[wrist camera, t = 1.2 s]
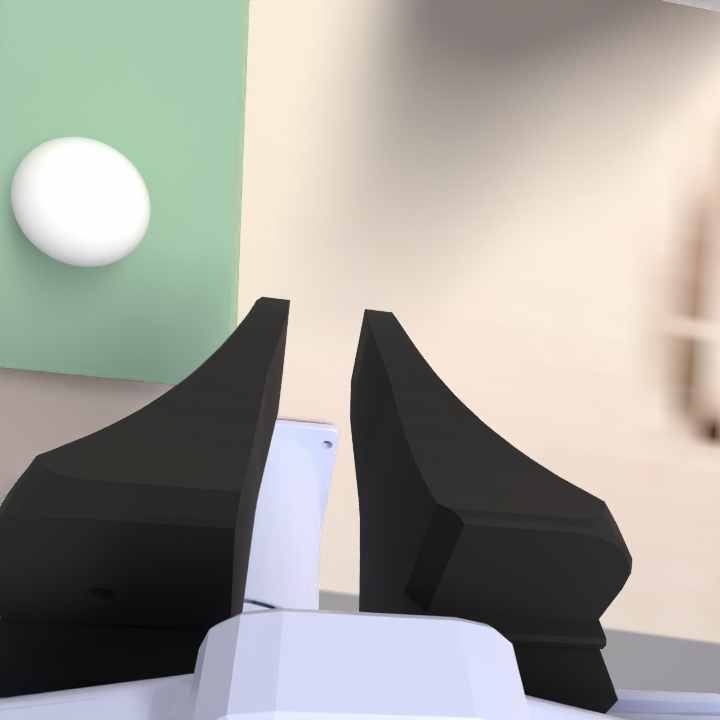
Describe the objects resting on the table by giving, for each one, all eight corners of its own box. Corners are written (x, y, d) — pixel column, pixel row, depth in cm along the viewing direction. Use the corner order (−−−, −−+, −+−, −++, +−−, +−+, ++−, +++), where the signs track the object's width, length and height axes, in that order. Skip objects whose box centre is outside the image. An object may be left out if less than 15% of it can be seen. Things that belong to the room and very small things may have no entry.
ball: (166, 242, 19) (135, 296, 16) (53, 227, 19) (1, 281, 16) (161, 131, 17) (125, 172, 14) (33, 112, 17) (-31, 149, 14)
